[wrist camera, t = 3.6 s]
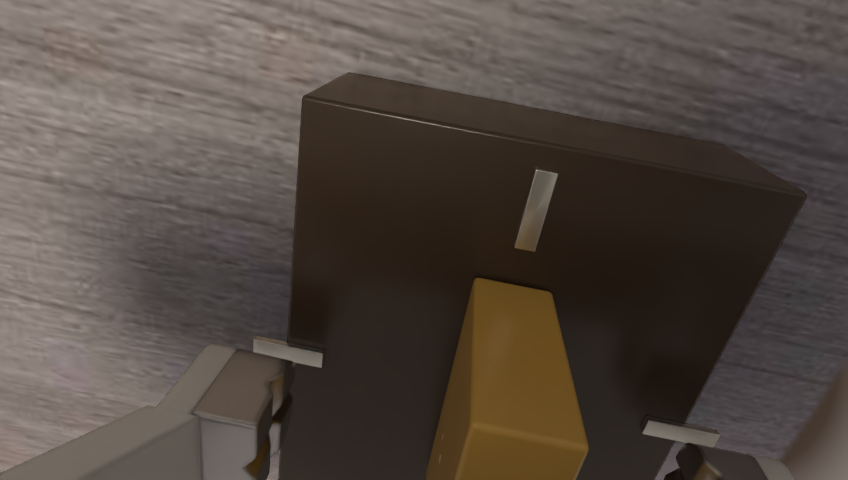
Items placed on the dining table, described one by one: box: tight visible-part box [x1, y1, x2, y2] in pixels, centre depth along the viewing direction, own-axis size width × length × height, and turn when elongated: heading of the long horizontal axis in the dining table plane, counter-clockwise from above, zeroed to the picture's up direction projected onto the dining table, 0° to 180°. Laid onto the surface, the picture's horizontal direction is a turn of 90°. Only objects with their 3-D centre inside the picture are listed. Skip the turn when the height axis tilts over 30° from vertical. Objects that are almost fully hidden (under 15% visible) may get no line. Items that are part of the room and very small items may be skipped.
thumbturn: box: [426, 278, 589, 480], centre depth 8 cm, size 5×1×4 cm, turn 170°
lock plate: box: [253, 72, 807, 480], centre depth 11 cm, size 10×9×3 cm
